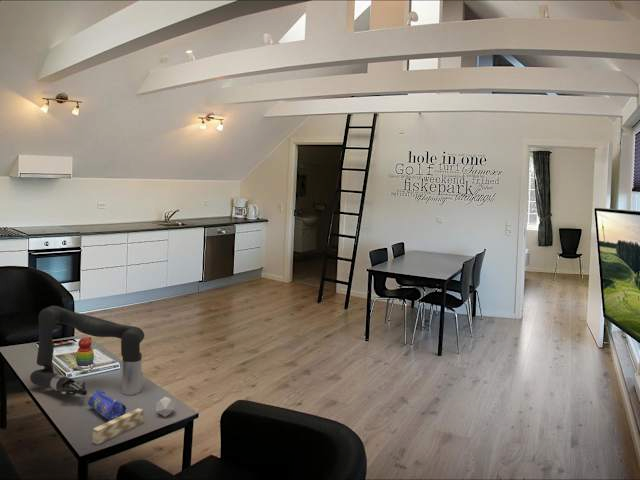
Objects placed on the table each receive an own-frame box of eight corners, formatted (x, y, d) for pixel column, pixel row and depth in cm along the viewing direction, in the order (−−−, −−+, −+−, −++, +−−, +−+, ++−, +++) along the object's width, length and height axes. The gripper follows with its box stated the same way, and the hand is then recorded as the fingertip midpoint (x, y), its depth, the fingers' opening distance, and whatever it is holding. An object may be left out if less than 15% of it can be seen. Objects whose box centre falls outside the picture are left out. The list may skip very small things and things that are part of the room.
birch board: (138, 420, 234) (138, 408, 233) (143, 422, 233) (143, 409, 232) (92, 442, 213) (92, 428, 212) (97, 444, 212) (97, 430, 211)
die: (162, 410, 247) (151, 398, 242) (178, 402, 247) (168, 390, 242) (162, 423, 240) (151, 411, 235) (178, 415, 241) (168, 402, 235)
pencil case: (127, 420, 234) (127, 400, 233) (109, 426, 227) (109, 405, 226) (103, 404, 248) (104, 385, 247) (86, 409, 242) (86, 390, 240)
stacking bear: (90, 363, 298) (91, 333, 296) (97, 368, 291) (98, 338, 289) (71, 367, 290) (71, 337, 288) (78, 372, 283) (78, 341, 281)
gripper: (49, 381, 246) (73, 390, 238) (74, 372, 258) (97, 381, 249) (49, 395, 247) (73, 405, 239) (74, 387, 259) (97, 395, 250)
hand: (85, 393), depth 244 cm, fingers closed
